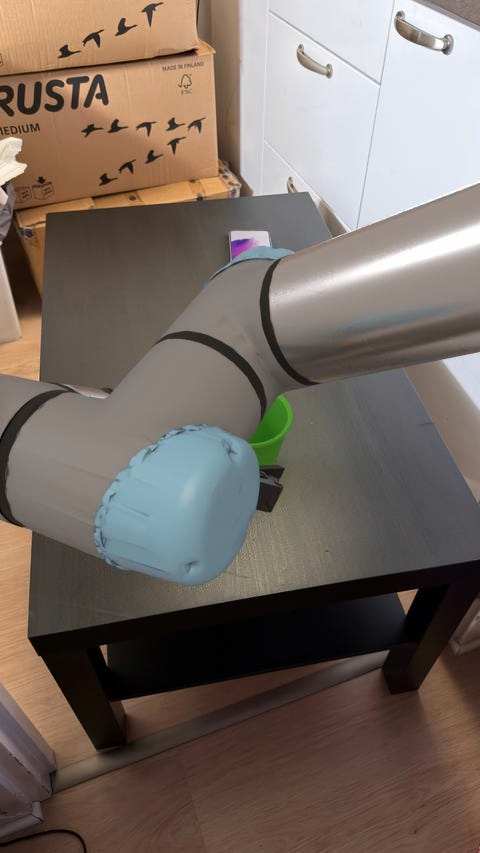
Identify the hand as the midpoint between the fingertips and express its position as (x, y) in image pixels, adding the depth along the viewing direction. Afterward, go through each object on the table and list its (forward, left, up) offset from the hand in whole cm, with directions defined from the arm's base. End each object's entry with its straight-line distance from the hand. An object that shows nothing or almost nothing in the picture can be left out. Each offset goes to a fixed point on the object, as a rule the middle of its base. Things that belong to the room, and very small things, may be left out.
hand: (220, 447), depth 63 cm
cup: (+1, -5, -11) cm, 12 cm away
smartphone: (+36, -35, -10) cm, 51 cm away
